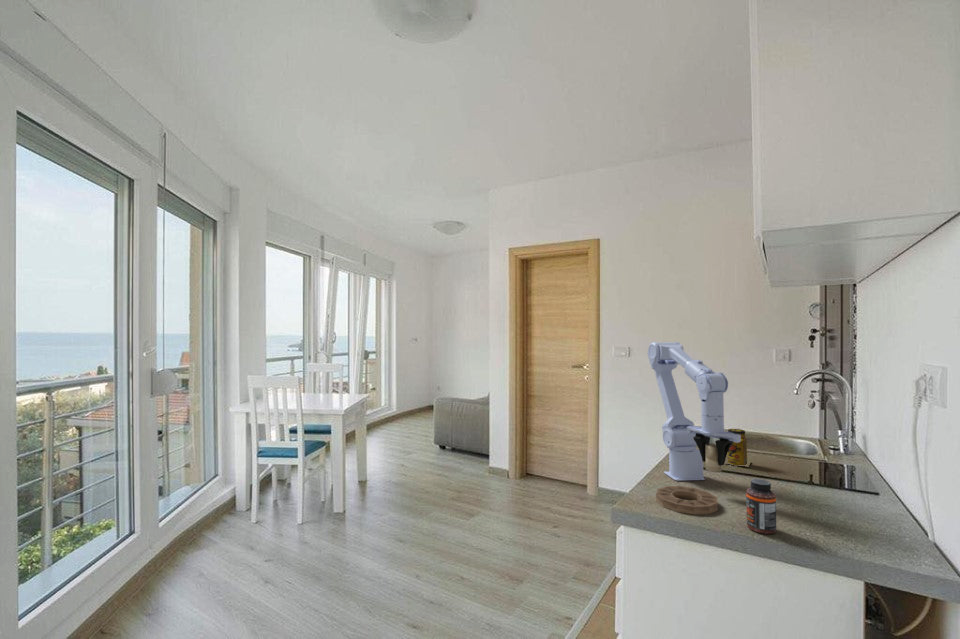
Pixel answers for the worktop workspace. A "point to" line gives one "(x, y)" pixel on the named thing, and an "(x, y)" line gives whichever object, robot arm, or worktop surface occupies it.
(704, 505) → the walnut ring
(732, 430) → the condiment
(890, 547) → the worktop surface
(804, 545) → the worktop surface
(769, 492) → the supplement bottle
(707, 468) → the beech peg
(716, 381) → the robot arm
